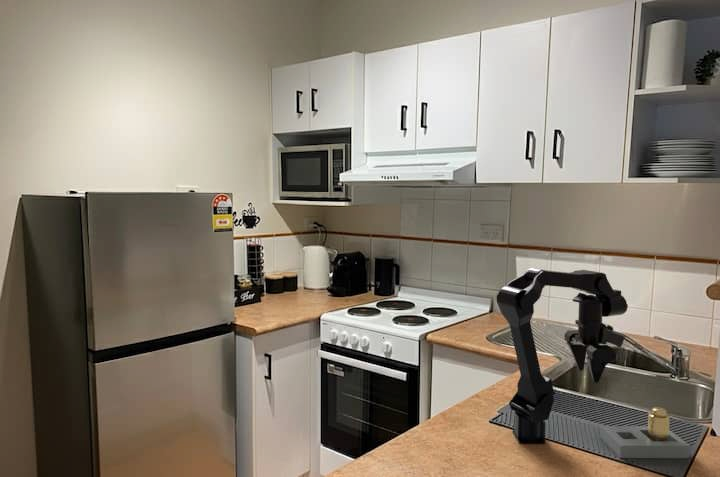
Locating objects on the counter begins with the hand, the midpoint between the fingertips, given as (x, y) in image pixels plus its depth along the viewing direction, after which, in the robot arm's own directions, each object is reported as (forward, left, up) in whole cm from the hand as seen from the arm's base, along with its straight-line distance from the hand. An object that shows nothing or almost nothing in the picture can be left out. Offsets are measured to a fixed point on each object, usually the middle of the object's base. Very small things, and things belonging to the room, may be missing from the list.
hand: (588, 376), depth 135 cm
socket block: (+8, -13, -13) cm, 20 cm away
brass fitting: (+11, -13, -13) cm, 22 cm away
